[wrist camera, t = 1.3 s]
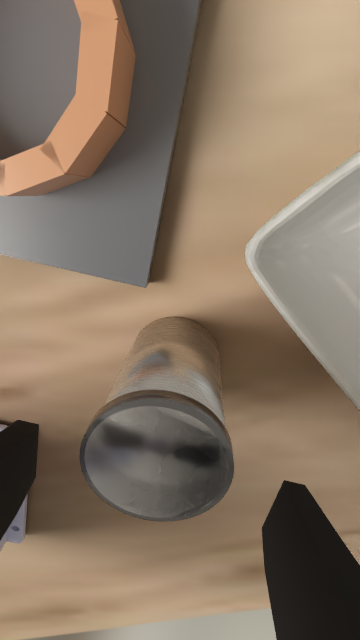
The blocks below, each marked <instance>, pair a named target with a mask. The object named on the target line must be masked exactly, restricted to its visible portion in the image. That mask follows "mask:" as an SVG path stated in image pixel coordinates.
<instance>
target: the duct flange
mask: <svg viewBox="0 0 360 640" xmlns="http://www.w3.org/2000/svg"><path fill="white" fill-rule="evenodd" d="M201 3H202V0H0V254H1V255H6V256H10V257H14V258H19V259H23V260H27V261H32V262H36V263H40V264H45V265H49V266H53V267H57V268H62V269H66V270H70V271H75V272H79V273H83V274H88V275H92V276H96V277H101V278H105V279H109V280H114V281H118V282H122V283H127V284H131V285H135V286H140V287H144V288H146V287H147V285H148V284H149V280H150V274H151V269H152V264H153V258H154V253H155V248H156V242H157V237H158V232H159V226H160V221H161V216H162V210H163V205H164V200H165V194H166V189H167V184H168V178H169V173H170V168H171V162H172V157H173V152H174V146H175V141H176V136H177V131H178V125H179V120H180V115H181V109H182V104H183V99H184V93H185V88H186V83H187V77H188V72H189V67H190V61H191V56H192V51H193V45H194V40H195V35H196V29H197V24H198V19H199V13H200V8H201Z"/></svg>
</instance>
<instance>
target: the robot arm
mask: <svg viewBox="0 0 360 640" xmlns="http://www.w3.org/2000/svg"><path fill="white" fill-rule="evenodd" d="M38 431H39V425H38V424H34V423H30V422H25V421H21V420H17V421H15V422H14V423H12V424H11V425H9V426H6V425H2V424H0V551H1V550H2V548H3V546H4V544H5V543H6V541H8V542H13V543H20V542H22V541H23V539H24V537H25V530H26V512H27V493H28V491H29V489H30V487H31V485H32V483H33V481H34V479H35V477H36V462H37V446H38ZM262 537H263V553H264V566H265V574H266V580H267V586H268V592H269V598H270V603H271V609H272V615H273V621H274V626H275V632H276V638H277V640H360V565H359V564H358V562H357V561H356V560H355V558H354V557H353V555H352V554H351V552H350V551H349V550H348V548H347V547H346V545H345V544H344V542H343V541H342V539H341V538H340V536H339V535H338V533H337V532H336V531H335V529H334V528H333V526H332V525H331V523H330V522H329V520H328V519H327V517H326V516H325V514H324V513H323V511H322V510H321V508H320V507H319V505H318V504H317V502H316V501H315V499H314V498H313V496H312V495H311V493H310V492H309V491H308V489H307V488H306V486H305V485H302V484H298V483H293V482H289V481H285V480H284V482H283V484H282V486H281V488H280V490H279V492H278V494H277V497H276V499H275V501H274V503H273V505H272V507H271V509H270V512H269V514H268V516H267V518H266V520H265V522H264V525H263V527H262Z"/></svg>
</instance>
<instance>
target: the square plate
mask: <svg viewBox="0 0 360 640" xmlns="http://www.w3.org/2000/svg"><path fill="white" fill-rule="evenodd" d="M245 259H246V263H247V265H248V267H249V269H250V271H251V273H252V275H253V276H254V278H255V279H256V281H257V282H258V284H259V285H260V287H261V288H262V290H263V291H264V293H265V294H266V296H267V297H268V298H269V300H270V301H271V302H272V304H273V305H274V306H275V308H276V309H277V310H278V311H279V313H280V314H281V315H282V317H283V318H284V319H285V321H286V322H287V323H288V324H289V326H290V327H291V328H292V329H293V331H294V332H295V333H296V334H297V336H298V337H299V338H300V339H301V341H302V342H303V343H304V344H305V345H306V347H307V348H308V349H309V350H310V351H311V353H312V354H313V355H314V356H315V358H316V359H317V360H318V361H319V362H320V364H321V365H322V366H323V367H324V368H325V370H326V371H327V372H328V373H329V375H330V376H331V377H332V378H333V379H334V381H335V382H336V383H337V384H338V385H339V387H340V388H341V389H342V390H343V391H344V393H345V394H346V395H347V396H348V397H349V399H350V400H351V401H352V402H353V404H354V405H355V406H356V407H357V408H358V410H359V411H360V151H359V152H357V153H356V154H354V155H353V156H352V157H350V158H349V159H348V160H346V161H345V162H344V163H342V164H341V165H340V166H338V167H337V168H336V169H334V170H333V171H332V172H330V173H329V174H328V175H326V176H325V177H323V178H322V179H320V180H319V181H317V182H316V183H315V184H313V185H312V186H311V187H309V188H308V189H307V190H306V191H304V192H303V193H302V194H301V195H299V196H298V197H297V198H296V199H294V200H293V201H292V202H291V203H290V204H288V205H287V206H286V207H285V208H283V209H282V210H281V211H280V212H278V213H277V214H276V215H275V216H274V217H272V218H271V219H270V220H269V221H268V222H267V223H266V224H264V225H263V226H262V227H261V228H260V229H259V230H258V231H257V232H256V234H255V235H254V236H253V237H252V238H251V239H250V241H249V242H248V244H247V245H246V249H245Z"/></svg>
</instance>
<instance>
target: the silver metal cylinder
mask: <svg viewBox="0 0 360 640" xmlns="http://www.w3.org/2000/svg"><path fill="white" fill-rule="evenodd" d="M80 464H81V468H82V472H83V474H84V476H85V479H86V481H87V482H88V484H89V485H90V487H91V488H92V489H93V491H94V492H95V493H96V494H97V495H98V496H99V497H100V498H101V499H102V500H104V501H105V502H106V503H108V504H109V505H110V506H112V507H114V508H115V509H117V510H119V511H121V512H123V513H125V514H128V515H131V516H134V517H137V518H141V519H146V520H151V521H177V520H183V519H187V518H191V517H194V516H197V515H199V514H201V513H203V512H205V511H207V510H209V509H210V508H212V507H213V506H214V505H216V504H217V503H218V502H219V501H220V500H221V499H222V498H223V497H224V495H225V494H226V492H227V491H228V489H229V487H230V485H231V482H232V478H233V473H234V461H233V451H232V444H231V440H230V437H229V434H228V432H227V430H226V428H225V417H224V406H223V395H222V383H221V372H220V361H219V351H218V347H217V344H216V342H215V340H214V338H213V337H212V335H211V334H210V333H209V332H208V331H207V330H206V329H205V328H204V327H203V326H201V325H200V324H198V323H196V322H194V321H192V320H189V319H186V318H181V317H166V318H162V319H159V320H156V321H154V322H152V323H150V324H148V325H147V326H146V327H145V328H143V329H142V330H141V332H140V333H139V334H138V336H137V337H136V339H135V341H134V344H133V346H132V348H131V350H130V352H129V354H128V356H127V358H126V360H125V363H124V365H123V367H122V369H121V371H120V373H119V375H118V377H117V379H116V382H115V384H114V386H113V388H112V390H111V392H110V394H109V396H108V398H107V401H106V403H105V405H104V406H103V407H102V408H101V409H100V410H99V411H98V412H97V414H96V415H95V416H94V418H93V420H92V421H91V423H90V425H89V427H88V429H87V431H86V433H85V435H84V438H83V440H82V443H81V448H80Z"/></svg>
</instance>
